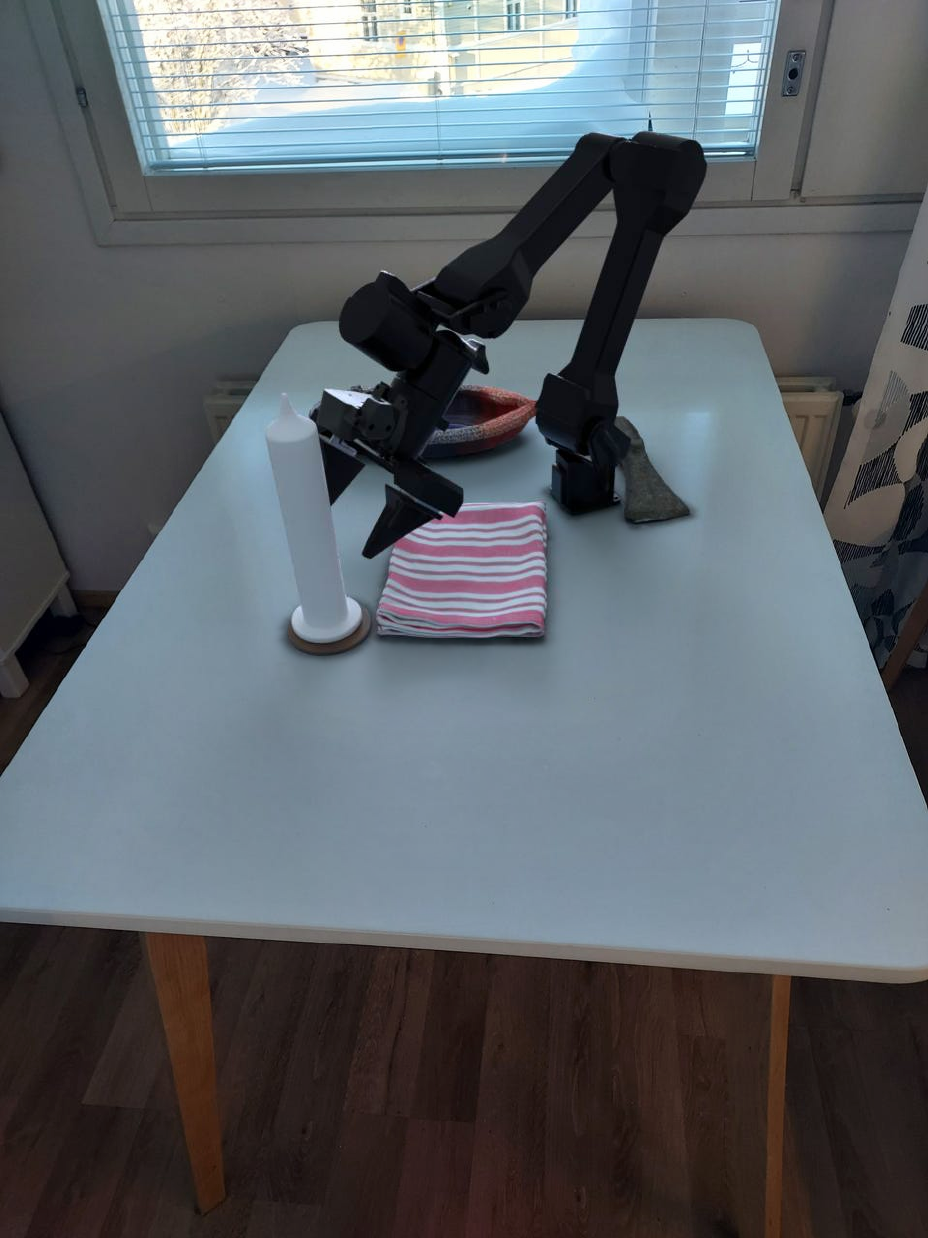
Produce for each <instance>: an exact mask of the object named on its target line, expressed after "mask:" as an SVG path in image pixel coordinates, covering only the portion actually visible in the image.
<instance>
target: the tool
mask: <svg viewBox="0 0 928 1238" xmlns="http://www.w3.org/2000/svg"><path fill="white" fill-rule="evenodd" d="M614 425H615V426H616V427H617V428H619V429H620V430H621V431H622V432H623V433H625V434H626V435H627V436H628V437H630V438H631V444H630V447H629V450H628V453H627V456H626V457H625V458H623V459H621V460H620V461H619V465H620V466H622V468H623V473H624V478H625V479H624V481H625V502H624V510H623V511H624V512H623V513H624V517H625V519H627V520H632V521H631V523H642V522H649V521H658V520H669V519H673V518H679V517H682V516H687V515H690V512H691V510H690V508H689V506H688V505H687V504H686V503H685V502H684V501H683V500H682V498H681V497H679V496H678V495H677V493H675V492H674V491H673V490H672V488H671V487H670V486H669V485H667V483H666V482H665V481H664V479H663V477H662V476H661V475H660V474H659V472H658V471H657V470H656V468H655V467H654V465H653V464H652V463H651V460H650V459H649V457H648V453H647V451H646V446H645V441H644V439H643V437H641V435H640V434H639V430H638V429H637V428H636V426H634V423H632V422H631V421H630V420H629V419H628V418H627V417H626V416H624V415H617V416H616V420H615V424H614Z"/></svg>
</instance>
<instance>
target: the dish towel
mask: <svg viewBox="0 0 928 1238" xmlns="http://www.w3.org/2000/svg"><path fill="white" fill-rule="evenodd" d="M439 514H441V515H442V516H444V517H443V518H442V520H441V521H439V520H437V519H433V520H431V521H430V522H428V523H426V524H424V525H423V526H421V527H419V528H417V529H416V530H414V531H412V532H410V533H409V534H407V535H406V536H404V537H403V538H401V539H400V540H398V541H397V542H395V543H394V547H393V549H392V550H391V556H390V558H389V566H388V577H387V580H386V583H385V584H384V585H385V586H384V588H383V590H382V593H381V598H380V600H379V602H378V607H377V610H376V617H375V621H376V623H377V634H378V635H380V636H409V637H417V638H430V639H431V638H435V639H451V638H453V639H454V638H479V639H481V638H482V639H483V638H493V637H510V638H511V637H513V638H515V637H519V638H521V637H522V638H539V637H542V636H543V635H544V634H545V633H546V626H545V619H546V616H547V610H548V595H547V580H548V579H547V578H548V577H547V574H548V566H547V564H548V563H547V559H546V553H547V552H546V550H547V540H548V535H547V522H546V521H547V519H546V518H547V514H548V510H547V502H546V501H543V500H540V501H539V500H537V501H530V502H499V501H498V502H497V501H496V502H469V503H467V502H466V503H465V502H463V504H462V506H461V508H460V509H459V511H458V513H457V514H456V516H455V518H452V517H450V516H448V515H446V514H445V513H443V512H441V511H440V512H439Z"/></svg>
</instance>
